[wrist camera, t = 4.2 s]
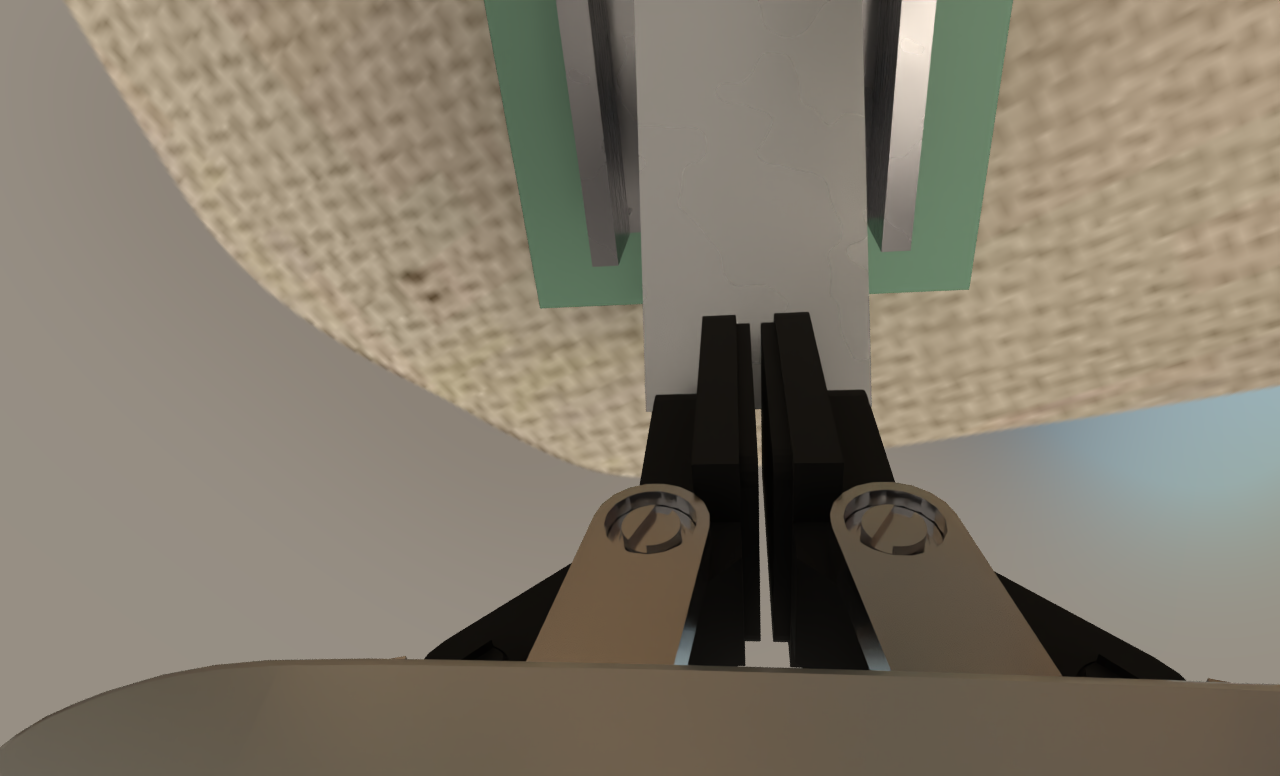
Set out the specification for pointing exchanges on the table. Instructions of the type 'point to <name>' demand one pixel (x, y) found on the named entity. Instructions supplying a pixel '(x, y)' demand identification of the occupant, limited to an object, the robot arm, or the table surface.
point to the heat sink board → (887, 270)
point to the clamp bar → (752, 180)
